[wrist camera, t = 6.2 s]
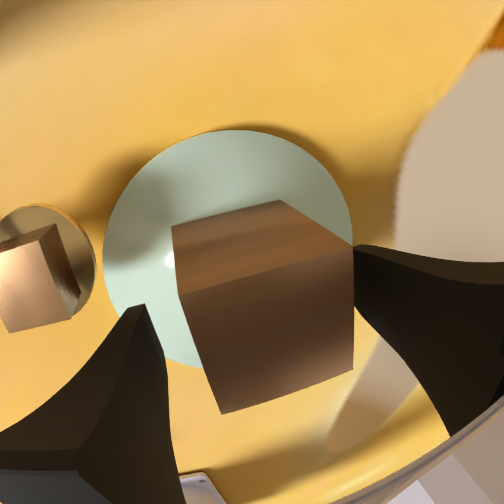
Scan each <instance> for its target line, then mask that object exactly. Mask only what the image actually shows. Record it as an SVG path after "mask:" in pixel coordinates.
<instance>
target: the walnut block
mask: <svg viewBox="0 0 504 504" xmlns="http://www.w3.org/2000/svg"><path fill="white" fill-rule="evenodd" d="M171 233H172V244H173V255H174V264H175V274H176V283H177V291H178V297H179V300H180V303H181V306H182V309H183V312H184V315H185V318H186V321H187V324H188V327H189V330H190V333H191V335H192V338H193V341H194V344H195V347H196V349H197V352H198V355H199V358H200V360H201V363H202V366H203V368H204V371H205V374H206V376H207V379H208V382H209V384H210V387H211V389H212V392H213V394H214V397H215V399H216V402H217V404H218V407H219V409H220V412H221V414H222V415H223V414H226V413H230V412H234V411H237V410H241V409H244V408H247V407H251V406H254V405H257V404H260V403H264V402H267V401H270V400H273V399H276V398H279V397H282V396H285V395H288V394H291V393H293V392H296V391H299V390H302V389H305V388H307V387H310V386H313V385H315V384H318V383H321V382H323V381H326V380H328V379H331V378H333V377H336V376H338V375H341V374H343V373H345V372H348V371H350V370H353V350H354V268H353V246H352V245H350V244H349V243H347V242H346V241H344V240H343V239H341V238H340V237H338V236H337V235H335V234H334V233H332V232H331V231H329V230H328V229H326V228H324V227H323V226H321V225H320V224H318V223H317V222H315V221H314V220H312V219H310V218H309V217H307V216H306V215H304V214H302V213H301V212H299V211H298V210H296V209H295V208H293V207H291V206H290V205H288V204H286V203H285V202H283V201H282V200H280V199H279V200H275V201H271V202H266V203H262V204H258V205H254V206H249V207H245V208H241V209H237V210H233V211H229V212H225V213H221V214H217V215H213V216H209V217H205V218H201V219H197V220H193V221H190V222H186V223H182V224H178V225H174V226H171Z"/></svg>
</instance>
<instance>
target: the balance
mask: <svg viewBox="0 0 504 504" xmlns="http://www.w3.org/2000/svg"><path fill="white" fill-rule="evenodd" d="M95 279H96V259H95V254H94V250H93V247H92V245H91V242H90V240H89V238H88V236H87V234H86V233H85V231H84V230H83V229H82V227H81V226H80V225H79V224H78V223H77V221H76V220H74V219H73V218H72V217H71V216H70V215H68V214H67V213H65V212H64V211H62V210H60V209H58V208H56V207H53V206H50V205H46V204H29V205H25V206H22V207H20V208H18V209H16V210H14V211H13V212H11V213H10V214H8V215H7V216H6V217H5V218H4V219H3V220H2V221H1V222H0V317H1V319H2V321H3V323H4V325H5V326H6V328H7V330H8V332H9V333H13V332H18V331H22V330H26V329H31V328H35V327H39V326H44V325H48V324H52V323H56V322H61V321H65V320H69V319H71V317H72V316H73V315H74V314H76V313H77V312H79V311H80V310H81V309H82V308H83V306H84V305H85V304H86V302H87V301H88V299H89V297H90V294H91V292H92V289H93V286H94V283H95Z"/></svg>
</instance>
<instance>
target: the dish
mask: <svg viewBox="0 0 504 504" xmlns="http://www.w3.org/2000/svg"><path fill="white" fill-rule="evenodd" d="M279 199H280V200H282V201H283V202H285V203H286V204H288V205H290V206H291V207H293V208H295V209H296V210H298V211H299V212H301V213H302V214H304V215H306V216H307V217H309V218H310V219H312V220H314V221H315V222H317V223H318V224H320V225H321V226H323V227H324V228H326V229H328V230H329V231H331V232H332V233H334V234H335V235H337V236H338V237H340V238H341V239H343V240H344V241H346V242H347V243H349V244H350V245H352V246H353V233H352V224H351V218H350V214H349V210H348V206H347V204H346V201H345V199H344V196H343V194H342V192H341V190H340V188H339V187H338V185H337V183H336V181H335V180H334V178H333V177H332V176H331V175H330V173H329V172H328V171H327V170H326V168H325V167H324V166H323V165H322V164H321V163H320V162H319V161H318V160H316V159H315V158H314V157H313V156H312V155H311V154H309V153H308V152H306V151H305V150H303V149H302V148H301V147H299V146H297V145H295V144H293V143H291V142H289V141H287V140H285V139H282V138H279V137H276V136H273V135H270V134H267V133H261V132H255V131H249V130H223V131H215V132H208V133H204V134H200V135H197V136H193V137H190V138H187V139H185V140H183V141H180V142H178V143H176V144H174V145H172V146H170V147H168V148H167V149H165V150H164V151H162V152H160V153H159V154H157V155H156V156H155V157H154V158H152V159H151V160H150V161H149V162H148V163H146V164H145V165H144V166H143V167H142V168H141V169H140V170H139V171H138V173H137V174H136V175H135V176H134V177H133V178H132V179H131V181H130V182H129V183H128V185H127V186H126V188H125V190H124V191H123V193H122V194H121V196H120V197H119V199H118V201H117V203H116V205H115V207H114V209H113V211H112V213H111V216H110V219H109V222H108V225H107V229H106V232H105V237H104V245H103V272H104V278H105V284H106V288H107V291H108V294H109V297H110V300H111V302H112V304H113V306H114V308H115V310H116V312H117V314H118V315H119V317H121V316H122V314H123V313H124V312H125V310H126V309H127V308H128V307H132V306H136V305H140V304H144V303H145V304H146V307H147V310H148V313H149V315H150V318H151V320H152V323H153V326H154V328H155V331H156V333H157V336H158V338H159V341H160V343H161V346H162V348H163V350H164V356H165V357H166V358H168V359H170V360H172V361H175V362H178V363H181V364H184V365H188V366H193V367H198V368H203V366H202V363H201V360H200V358H199V355H198V352H197V349H196V347H195V344H194V341H193V338H192V335H191V333H190V330H189V327H188V324H187V321H186V318H185V315H184V312H183V309H182V306H181V303H180V300H179V297H178V291H177V283H176V274H175V264H174V255H173V244H172V233H171V226H174V225H178V224H182V223H186V222H190V221H193V220H197V219H201V218H205V217H209V216H213V215H217V214H221V213H225V212H229V211H233V210H237V209H241V208H245V207H249V206H254V205H258V204H262V203H266V202H271V201H275V200H279Z"/></svg>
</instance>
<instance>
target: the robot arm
mask: <svg viewBox="0 0 504 504" xmlns="http://www.w3.org/2000/svg"><path fill="white" fill-rule="evenodd" d="M353 268H354V306H355V307H356V309H357V310H358V311H359V313H360V314H361V315H362V317H363V318H364V319H365V320H366V321H367V322H368V323H369V324H370V325H371V326H372V327H373V328H374V329H375V330H376V331H377V332H378V333H379V334H380V335H381V336H382V337H383V338H384V340H386V342H388V344H389V345H390V346H391V347H392V348H393V349H394V350H395V351H396V352H397V353H398V354H399V355H400V356H401V358H402V359H403V360H404V361H405V362H406V364H407V365H408V367H409V368H410V369H411V371H412V372H413V373H414V375H415V376H416V378H417V379H418V381H419V382H420V384H421V385H422V387H423V388H424V390H425V391H426V393H427V394H428V396H429V398H430V399H431V401H432V403H433V404H434V406H435V408H436V410H437V411H438V413H439V415H440V417H441V419H442V421H443V423H444V425H445V427H446V429H447V431H448V433H449V435H450V438H449V439H448V440H446V441H445V442H443V443H442V444H440V445H439V446H437V447H436V448H434V449H433V450H431V451H430V452H428V453H426V454H425V455H423V456H422V457H420V458H418V459H417V460H415V461H413V462H412V463H410V464H408V465H407V466H405V467H403V468H401V469H400V470H398V471H396V472H394V473H392V474H391V475H389V476H387V477H385V478H383V479H381V480H379V481H377V482H375V483H373V484H371V485H369V486H367V487H365V488H363V489H361V490H359V491H357V492H355V493H352V494H350V495H348V496H346V497H343V498H341V499H339V500H336V501H334V502H332V503H329V504H504V262H491V263H490V262H489V263H487V262H462V261H453V260H444V259H437V258H431V257H426V256H420V255H416V254H411V253H406V252H401V251H397V250H393V249H388V248H383V247H378V246H372V245H362V244H361V245H358V246H354V247H353ZM0 502H1V503H2V504H227V503H226V502H225V501H224V499H223V498H222V496H221V495H220V494H219V492H218V491H217V489H216V488H215V486H214V485H213V484H212V482H211V481H210V479H209V478H208V476H207V475H206V474H205V473H203V472H198V473H193V474H187V475H182V476H179V474H178V470H177V466H176V461H175V456H174V451H173V446H172V441H171V433H170V419H169V396H168V374H167V368H166V362H165V356H164V350H163V348H162V346H161V343H160V341H159V338H158V336H157V333H156V331H155V328H154V326H153V323H152V320H151V318H150V315H149V313H148V310H147V307H146V304H145V303H144V304H140V305H136V306H132V307H128V308H127V309H126V310H125V312H124V313H123V314H122V316H121V317H120V318H119V320H118V321H117V323H116V324H115V326H114V327H113V328H112V330H111V331H110V333H109V334H108V335H107V337H106V338H105V340H104V341H103V342H102V344H101V345H100V346H99V347H98V349H97V350H96V351H95V353H94V354H93V355H92V356H91V358H90V359H89V360H88V361H87V363H86V364H85V365H84V366H83V367H82V368H81V369H80V371H79V372H78V373H77V374H76V375H75V376H74V377H73V378H72V379H71V380H70V381H69V382H68V383H67V384H66V385H65V386H64V387H62V388H61V389H60V390H59V391H58V392H57V393H56V394H54V395H53V396H52V397H51V398H50V399H49V400H48V401H46V402H45V403H44V404H43V405H41V406H40V407H39V408H37V409H36V410H35V411H33V412H32V413H31V414H29V415H28V416H26V417H25V418H23V419H22V420H20V421H19V422H17V423H15V424H14V425H12V426H10V427H9V428H7V429H5V430H3V431H2V432H0Z"/></svg>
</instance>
